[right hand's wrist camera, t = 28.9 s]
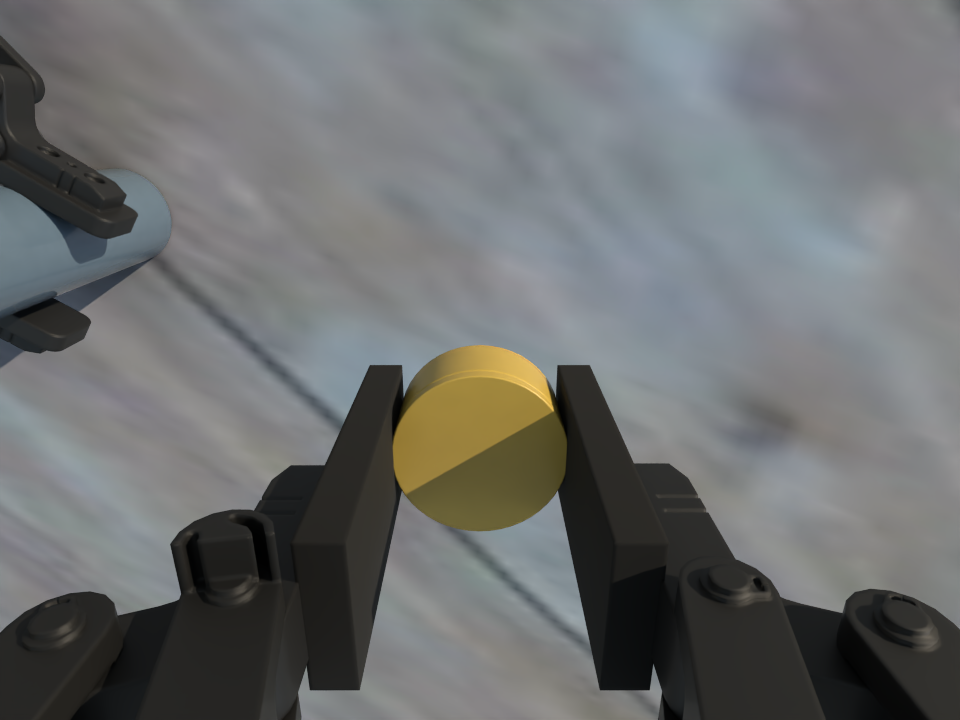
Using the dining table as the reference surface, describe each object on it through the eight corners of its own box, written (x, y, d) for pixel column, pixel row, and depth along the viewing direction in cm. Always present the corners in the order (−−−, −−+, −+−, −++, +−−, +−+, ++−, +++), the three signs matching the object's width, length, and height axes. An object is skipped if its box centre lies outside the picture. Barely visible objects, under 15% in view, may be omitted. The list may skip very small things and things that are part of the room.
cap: (369, 416, 15) (354, 457, 13) (480, 311, 14) (481, 339, 12) (478, 511, 16) (478, 560, 14) (590, 418, 15) (605, 458, 13)
